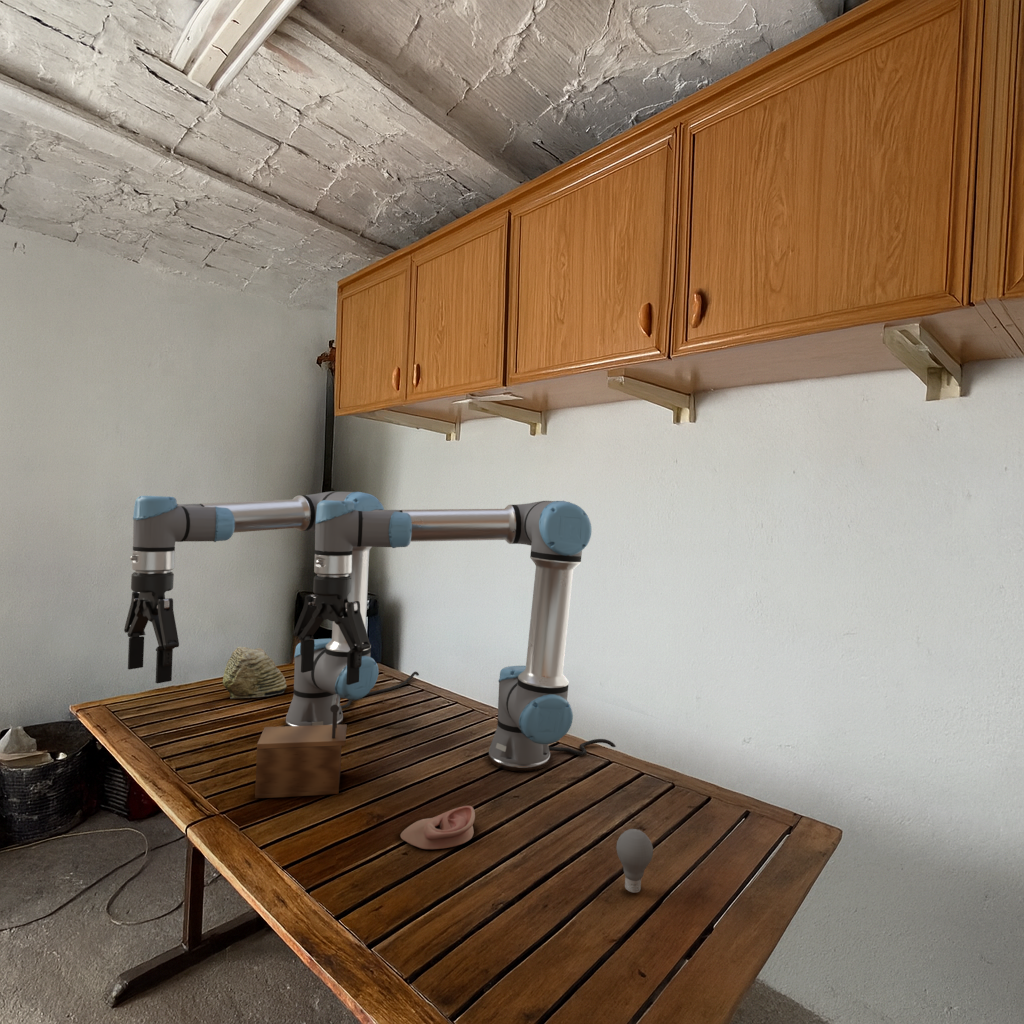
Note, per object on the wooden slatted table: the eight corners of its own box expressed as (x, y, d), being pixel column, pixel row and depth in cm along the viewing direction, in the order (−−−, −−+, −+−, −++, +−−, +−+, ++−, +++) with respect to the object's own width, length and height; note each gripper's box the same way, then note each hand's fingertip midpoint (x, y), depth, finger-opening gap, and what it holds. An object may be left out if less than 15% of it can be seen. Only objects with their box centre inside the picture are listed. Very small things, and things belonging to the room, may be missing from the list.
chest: (340, 774, 145) (342, 729, 145) (338, 794, 135) (340, 745, 135) (262, 778, 141) (264, 732, 141) (254, 798, 132) (256, 749, 131)
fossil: (218, 695, 195) (220, 647, 195) (278, 685, 208) (279, 640, 207) (228, 703, 189) (230, 653, 188) (289, 692, 201) (290, 645, 201)
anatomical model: (394, 823, 116) (416, 795, 127) (393, 844, 116) (415, 814, 128) (464, 834, 114) (480, 804, 125) (463, 855, 114) (479, 824, 125)
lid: (346, 728, 145) (348, 692, 145) (344, 745, 135) (346, 706, 135) (264, 731, 141) (265, 694, 141) (256, 749, 131) (258, 708, 131)
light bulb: (610, 879, 108) (613, 822, 108) (644, 879, 109) (647, 822, 109) (619, 902, 102) (622, 840, 102) (655, 901, 103) (658, 840, 103)
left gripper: (109, 566, 134) (105, 665, 134) (160, 579, 119) (155, 692, 119) (147, 564, 140) (143, 660, 140) (200, 576, 124) (196, 684, 125)
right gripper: (278, 570, 134) (274, 670, 135) (363, 582, 121) (359, 693, 121) (306, 568, 141) (303, 663, 141) (390, 579, 127) (386, 684, 128)
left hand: (149, 674), depth 130 cm, fingers open, 13 cm apart
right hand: (329, 677), depth 131 cm, fingers open, 13 cm apart
